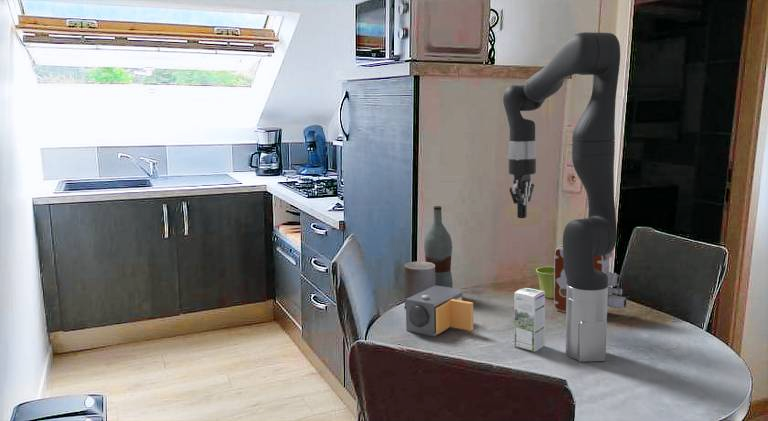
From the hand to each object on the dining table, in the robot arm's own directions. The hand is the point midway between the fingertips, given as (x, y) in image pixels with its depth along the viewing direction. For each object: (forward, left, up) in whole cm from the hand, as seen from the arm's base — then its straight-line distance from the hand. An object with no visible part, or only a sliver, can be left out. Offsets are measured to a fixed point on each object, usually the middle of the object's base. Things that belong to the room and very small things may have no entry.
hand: (521, 217), depth 163 cm
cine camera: (0, -20, -29) cm, 35 cm away
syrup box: (-24, +4, -29) cm, 38 cm away
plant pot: (+18, -14, -29) cm, 37 cm away
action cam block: (-6, +26, -29) cm, 39 cm away
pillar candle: (+10, +29, -29) cm, 42 cm away
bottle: (+22, +22, -29) cm, 43 cm away
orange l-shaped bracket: (-14, +21, -28) cm, 38 cm away
